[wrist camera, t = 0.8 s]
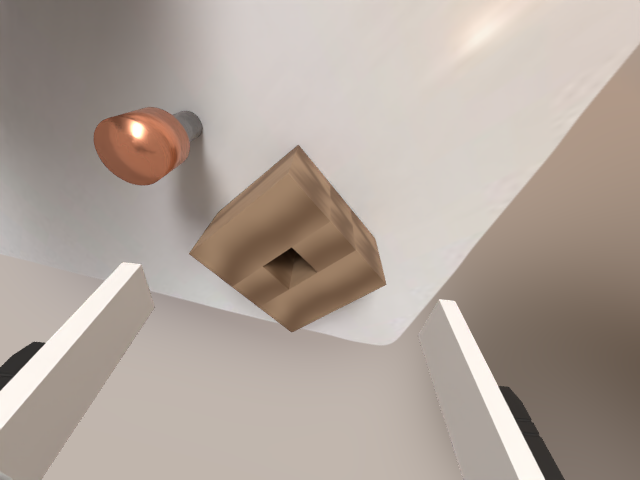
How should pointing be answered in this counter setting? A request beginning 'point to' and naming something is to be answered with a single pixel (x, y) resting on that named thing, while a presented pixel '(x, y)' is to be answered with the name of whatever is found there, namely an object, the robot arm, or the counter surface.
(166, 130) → the copper cylinder with shaft
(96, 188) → the counter surface
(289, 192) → the hitch block
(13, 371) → the robot arm
